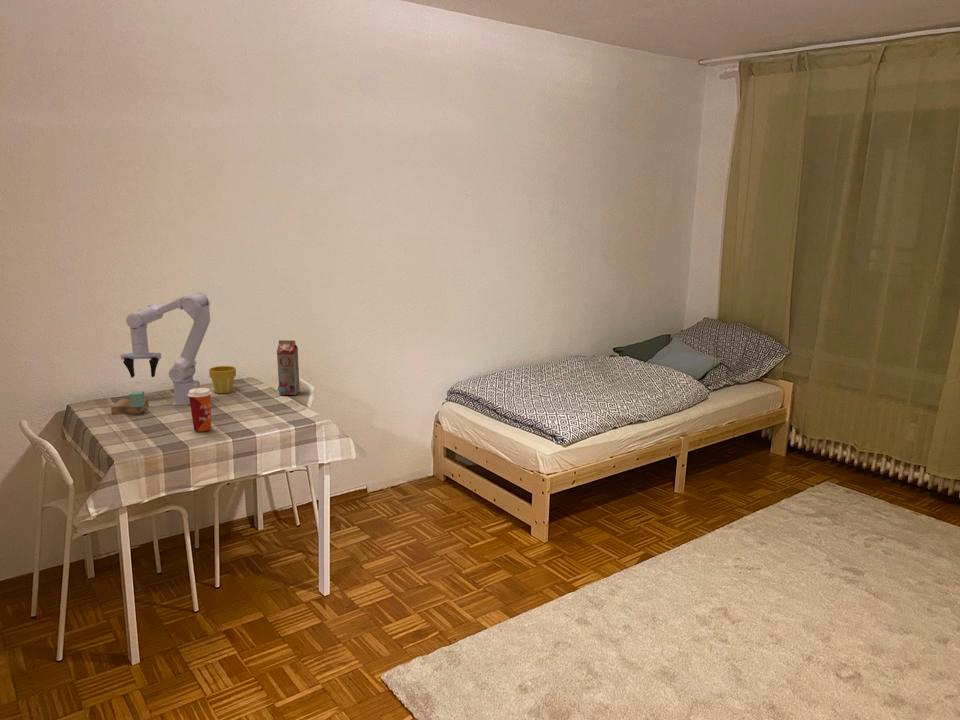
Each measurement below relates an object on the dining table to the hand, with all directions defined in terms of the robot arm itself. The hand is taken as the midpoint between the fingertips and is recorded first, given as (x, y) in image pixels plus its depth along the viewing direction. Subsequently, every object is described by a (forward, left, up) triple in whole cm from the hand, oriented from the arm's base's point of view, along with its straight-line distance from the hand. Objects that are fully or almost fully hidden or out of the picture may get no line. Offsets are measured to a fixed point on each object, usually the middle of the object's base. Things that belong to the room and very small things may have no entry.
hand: (143, 376), depth 285 cm
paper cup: (-31, +39, -10) cm, 51 cm away
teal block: (-3, +18, -6) cm, 20 cm away
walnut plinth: (+1, +14, -9) cm, 17 cm away
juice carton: (-55, -6, -10) cm, 56 cm away
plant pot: (-28, -10, -10) cm, 31 cm away
